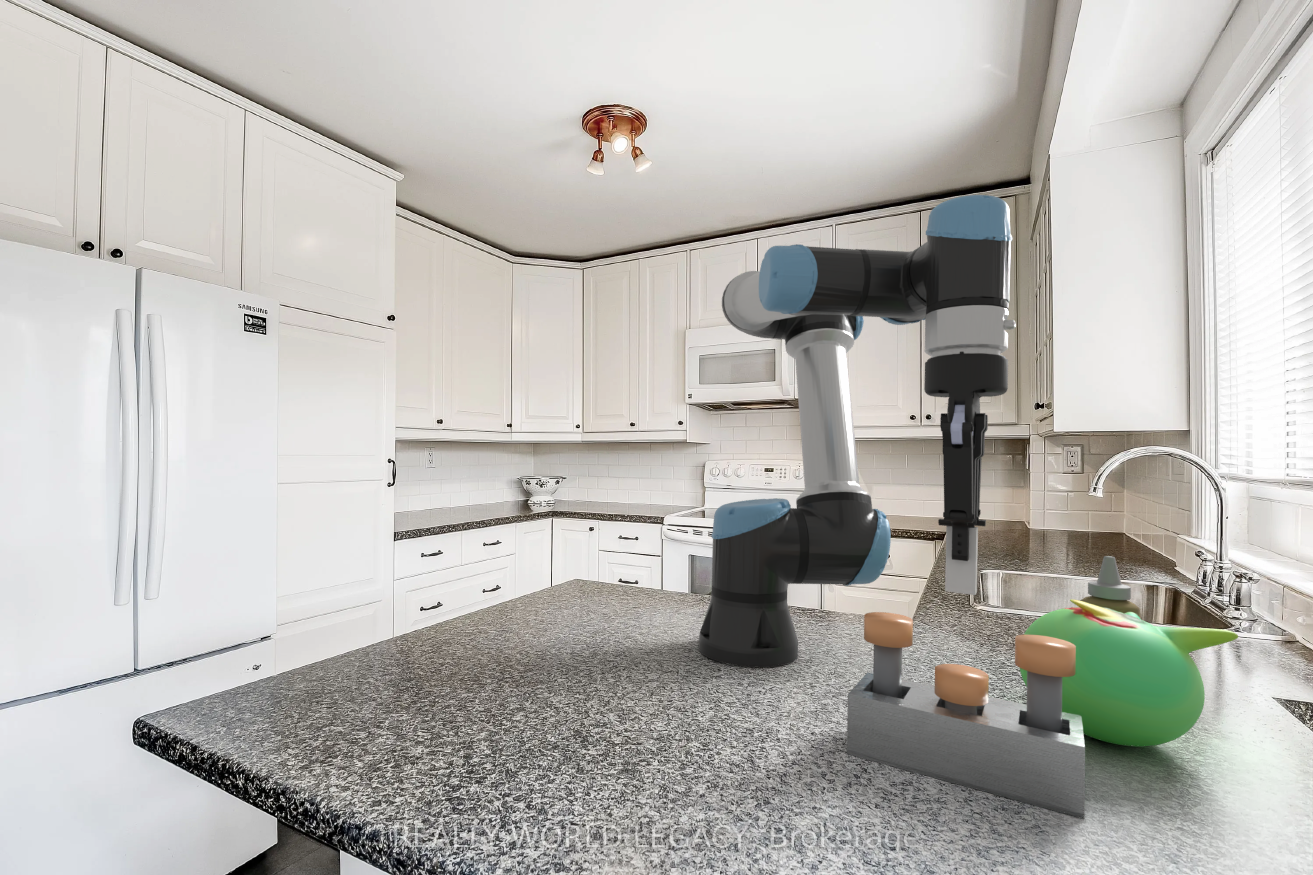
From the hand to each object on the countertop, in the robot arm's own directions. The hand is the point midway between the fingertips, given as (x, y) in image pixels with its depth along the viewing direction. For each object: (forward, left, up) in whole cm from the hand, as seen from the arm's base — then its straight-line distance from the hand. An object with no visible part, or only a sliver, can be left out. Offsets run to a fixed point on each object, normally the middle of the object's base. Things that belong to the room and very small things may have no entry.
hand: (960, 591), depth 63 cm
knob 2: (+7, 0, -11) cm, 13 cm away
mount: (0, 0, -17) cm, 17 cm away
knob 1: (-7, 0, -11) cm, 13 cm away
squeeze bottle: (+14, +34, -17) cm, 40 cm away
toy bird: (+13, +18, -17) cm, 28 cm away
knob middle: (0, 0, -15) cm, 15 cm away
